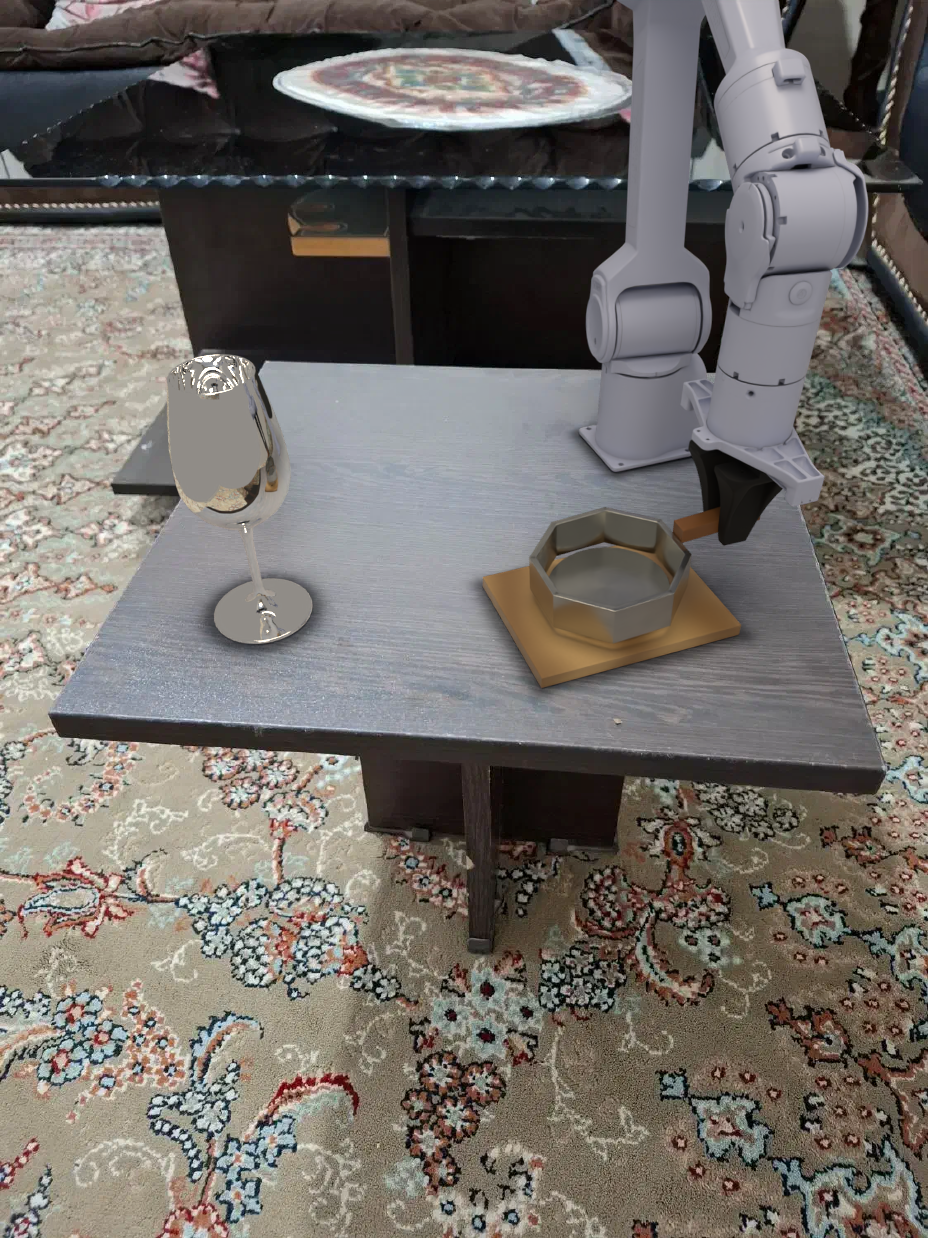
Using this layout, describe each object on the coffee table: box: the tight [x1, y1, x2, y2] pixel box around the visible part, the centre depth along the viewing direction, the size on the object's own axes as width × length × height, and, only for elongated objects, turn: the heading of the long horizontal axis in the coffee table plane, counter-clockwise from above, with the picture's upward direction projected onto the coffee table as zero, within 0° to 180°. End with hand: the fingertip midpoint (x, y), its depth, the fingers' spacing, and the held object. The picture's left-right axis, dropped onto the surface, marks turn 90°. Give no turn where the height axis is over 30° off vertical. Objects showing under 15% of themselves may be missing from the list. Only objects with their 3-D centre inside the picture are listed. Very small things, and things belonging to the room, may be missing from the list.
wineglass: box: [166, 353, 314, 645], centre depth 63 cm, size 8×8×20 cm
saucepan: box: [528, 506, 761, 644], centre depth 67 cm, size 18×11×4 cm, turn 109°
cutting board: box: [482, 545, 742, 689], centre depth 69 cm, size 16×12×1 cm
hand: (725, 533), depth 68 cm, fingers closed on saucepan
